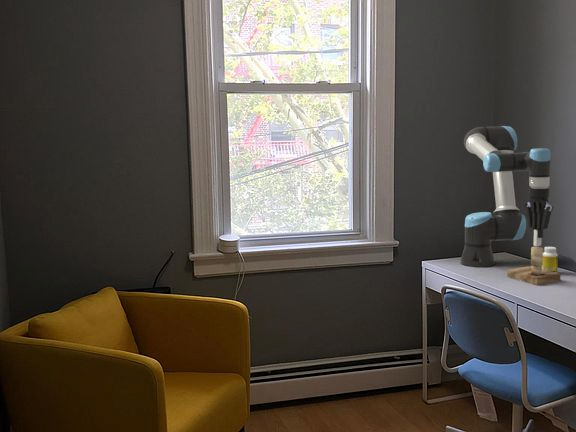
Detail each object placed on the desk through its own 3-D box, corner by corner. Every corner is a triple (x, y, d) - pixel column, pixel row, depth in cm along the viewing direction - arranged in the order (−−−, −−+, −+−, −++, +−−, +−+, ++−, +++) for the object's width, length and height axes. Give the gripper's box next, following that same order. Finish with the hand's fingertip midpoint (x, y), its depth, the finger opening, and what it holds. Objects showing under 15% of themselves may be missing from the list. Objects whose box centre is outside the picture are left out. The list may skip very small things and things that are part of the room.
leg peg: (527, 280, 253) (528, 247, 251) (535, 279, 255) (536, 246, 253) (536, 283, 249) (537, 249, 247) (544, 281, 251) (545, 248, 249)
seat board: (506, 276, 260) (507, 269, 260) (529, 272, 266) (530, 266, 265) (536, 285, 246) (536, 278, 246) (560, 280, 251) (560, 273, 251)
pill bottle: (558, 274, 261) (559, 249, 259) (543, 274, 262) (544, 249, 261) (555, 271, 267) (556, 246, 265) (540, 271, 268) (541, 246, 267)
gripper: (519, 186, 250) (518, 243, 254) (545, 189, 239) (543, 249, 242) (533, 185, 253) (531, 241, 257) (559, 188, 242) (557, 247, 245)
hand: (537, 245), depth 250 cm, fingers closed
